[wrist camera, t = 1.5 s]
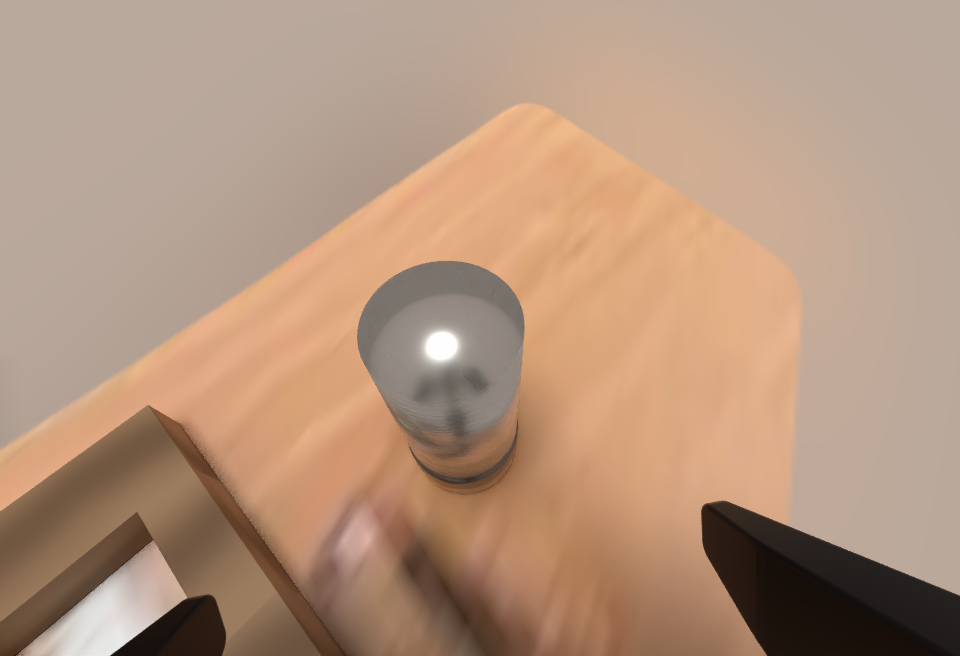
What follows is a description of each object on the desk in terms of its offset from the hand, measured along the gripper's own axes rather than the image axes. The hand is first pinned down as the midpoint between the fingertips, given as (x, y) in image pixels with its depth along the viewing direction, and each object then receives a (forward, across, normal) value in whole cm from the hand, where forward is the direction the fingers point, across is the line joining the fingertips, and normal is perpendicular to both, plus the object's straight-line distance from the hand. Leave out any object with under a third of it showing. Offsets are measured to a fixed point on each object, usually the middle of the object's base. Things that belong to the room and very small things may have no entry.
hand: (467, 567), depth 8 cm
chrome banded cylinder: (+14, 0, +4) cm, 14 cm away
